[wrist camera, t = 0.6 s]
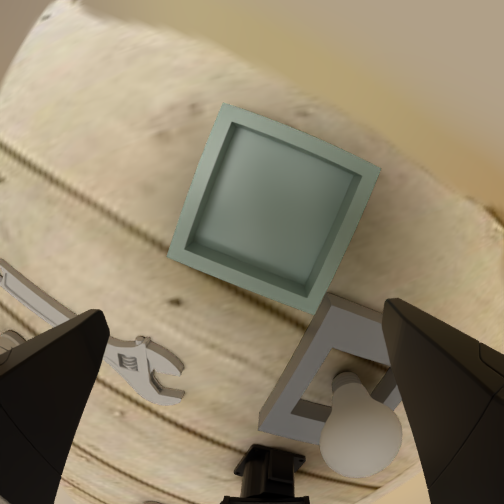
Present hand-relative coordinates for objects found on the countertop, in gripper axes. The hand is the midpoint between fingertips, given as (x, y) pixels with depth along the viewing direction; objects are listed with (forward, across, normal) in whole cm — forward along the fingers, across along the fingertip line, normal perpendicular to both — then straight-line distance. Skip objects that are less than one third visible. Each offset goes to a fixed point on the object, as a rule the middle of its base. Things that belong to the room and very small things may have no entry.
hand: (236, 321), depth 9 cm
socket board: (+13, -7, +16) cm, 21 cm away
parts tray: (+15, -1, 0) cm, 15 cm away
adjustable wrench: (+14, +18, +10) cm, 25 cm away
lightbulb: (+13, -7, +16) cm, 22 cm away
